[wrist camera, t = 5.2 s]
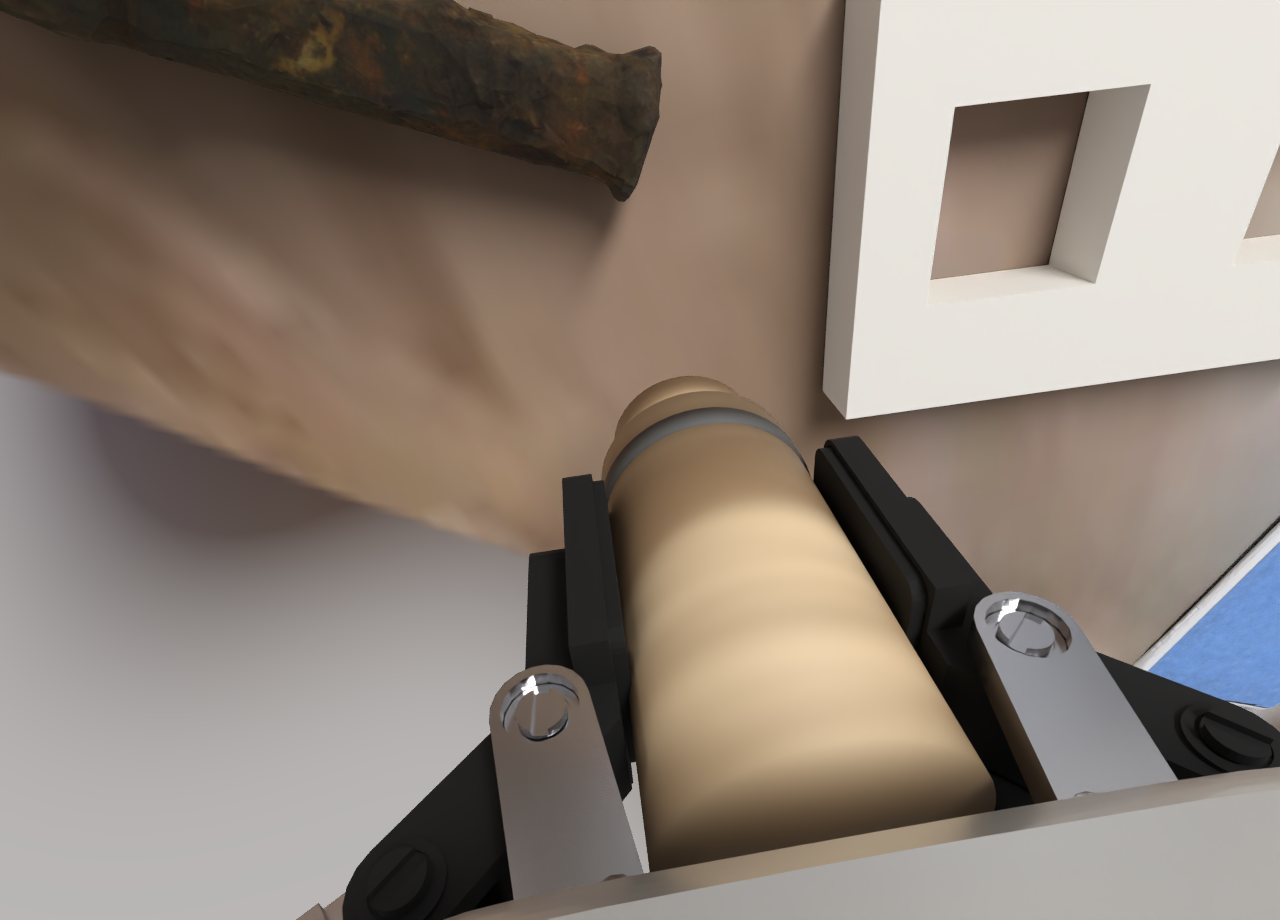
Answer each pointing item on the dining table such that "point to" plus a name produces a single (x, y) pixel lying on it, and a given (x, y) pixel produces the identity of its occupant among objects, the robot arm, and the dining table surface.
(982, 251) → the dining table surface
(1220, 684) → the tablet computer
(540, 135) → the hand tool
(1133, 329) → the hole board
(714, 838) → the oak peg
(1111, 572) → the dining table surface
